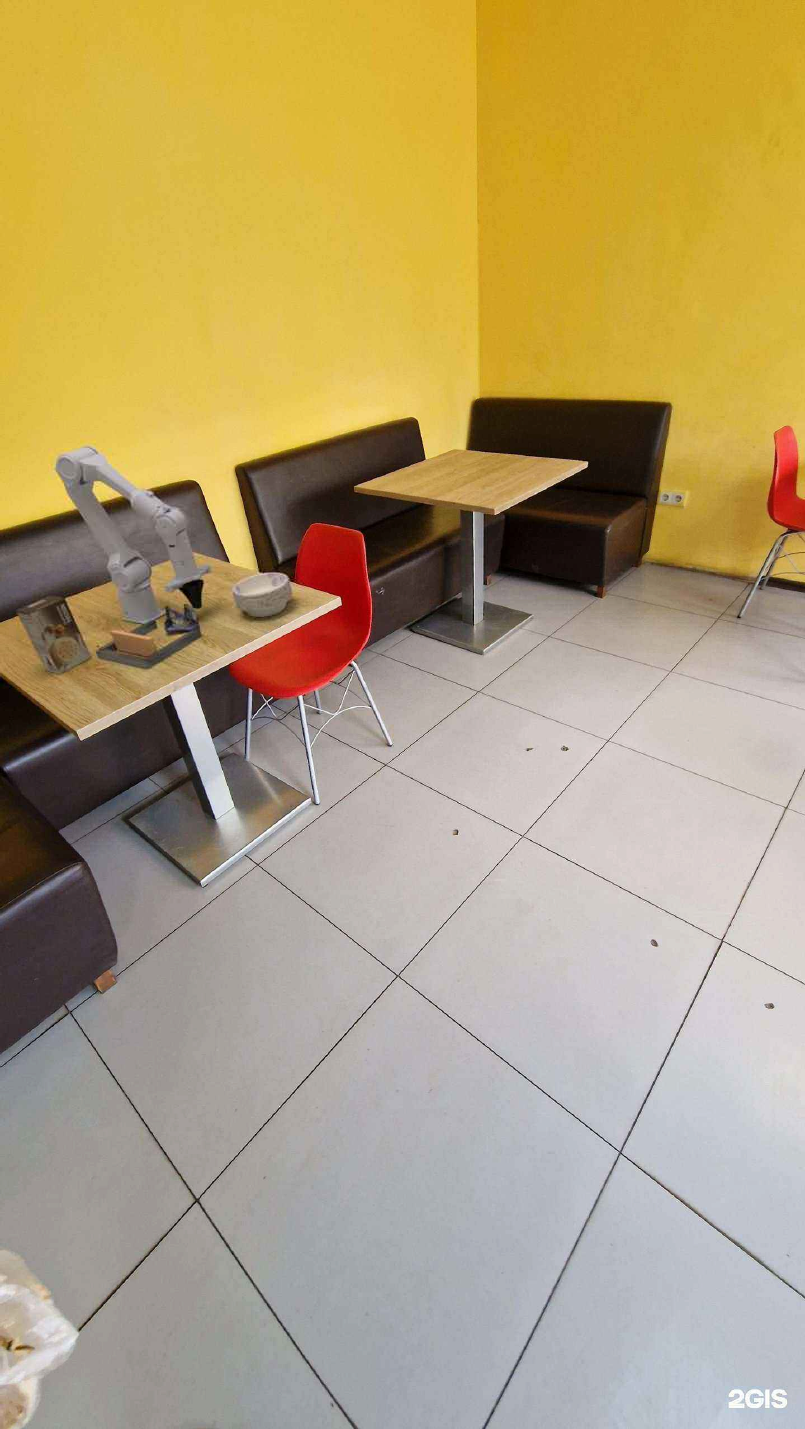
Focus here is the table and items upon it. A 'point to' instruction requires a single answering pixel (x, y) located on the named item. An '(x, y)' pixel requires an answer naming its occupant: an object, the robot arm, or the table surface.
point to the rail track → (153, 659)
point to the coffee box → (54, 634)
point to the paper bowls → (262, 594)
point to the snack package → (180, 619)
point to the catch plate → (133, 643)
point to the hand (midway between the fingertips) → (197, 607)
